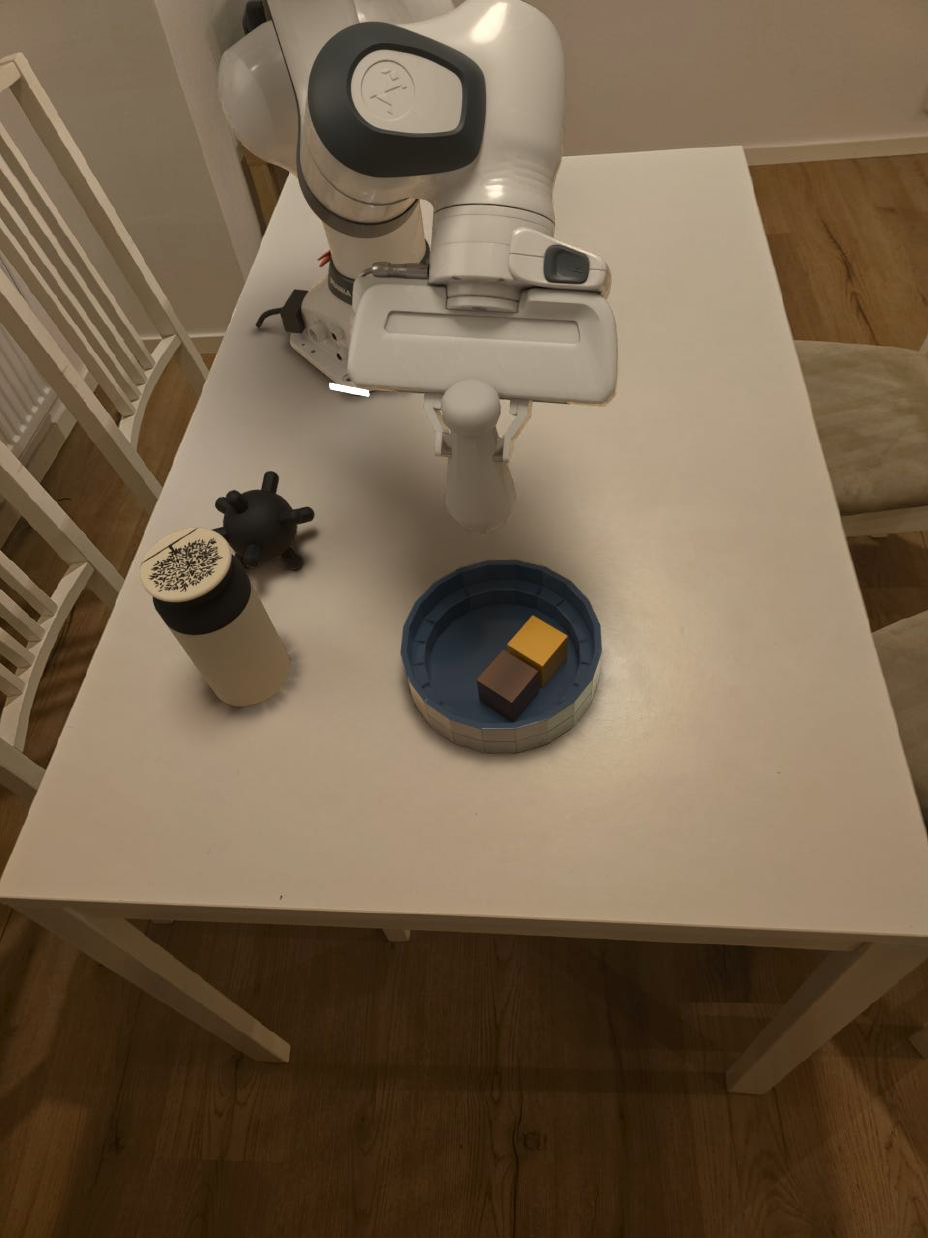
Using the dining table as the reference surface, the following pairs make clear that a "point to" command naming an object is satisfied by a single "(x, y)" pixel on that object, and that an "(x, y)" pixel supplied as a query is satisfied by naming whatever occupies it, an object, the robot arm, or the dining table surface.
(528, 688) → the walnut block
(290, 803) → the dining table surface
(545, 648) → the mustard block
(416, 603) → the bowl
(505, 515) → the salt shaker
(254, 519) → the toy ball
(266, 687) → the travel mug
